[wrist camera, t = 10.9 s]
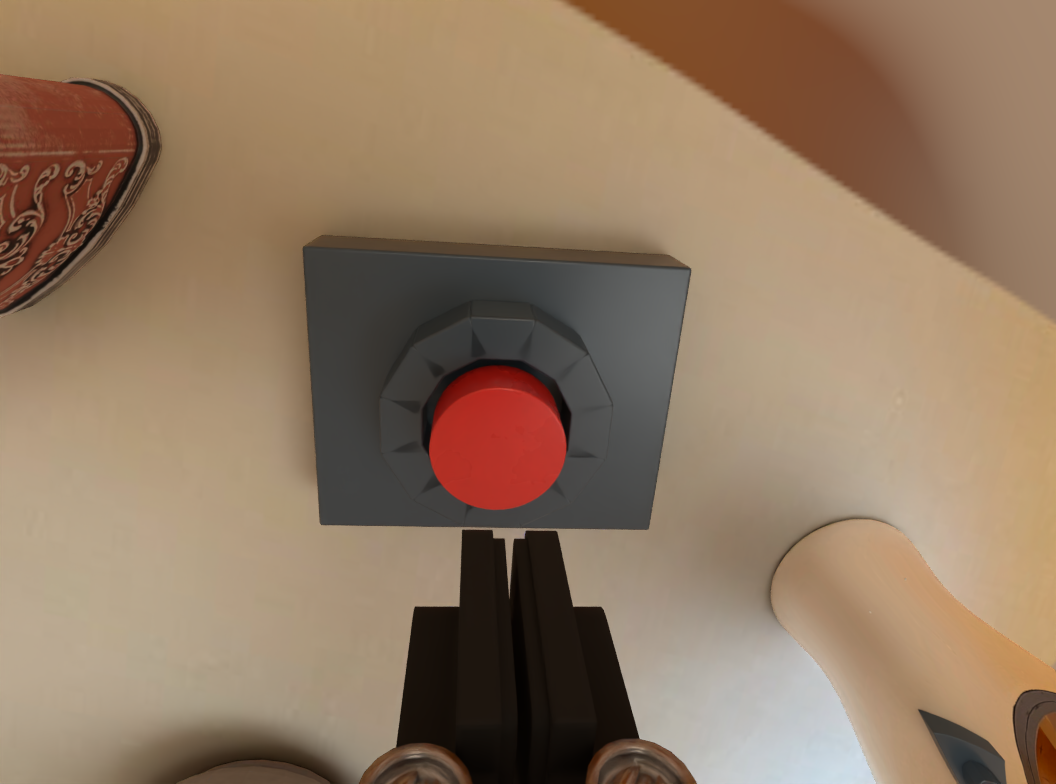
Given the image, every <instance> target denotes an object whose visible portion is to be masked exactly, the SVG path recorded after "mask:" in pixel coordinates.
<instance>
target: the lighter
mask: <svg viewBox="0 0 1056 784" xmlns="http://www.w3.org/2000/svg"><path fill="white" fill-rule="evenodd" d="M160 150H161V140H160V133H159V129H158V127H157V125H156V123H155V121H154V119H153V117H152V115H151V113H150V112H149V111H148V110H147V108H146V107H145V106H144V105H143V104H142V102H141V101H140V100H139V99H138V98H137V97H135V96H134V95H132V94H131V93H130V92H128V91H127V90H126V89H124V88H123V87H120V86H117V85H115V84H112V83H110V82H107V81H102V80H96V79H89V78H69V79H66V80H64V81H61V82H55V81H47V80H40V79H32V78H25V77H18V76H10V75H3V74H0V317H4V316H7V315H9V314H12V313H14V312H17V311H20V310H22V309H25V308H28V307H30V306H33V305H34V304H36V303H37V302H39V301H40V300H41V299H43V298H44V297H46V296H47V295H48V294H50V293H51V292H53V291H54V290H55V289H57V288H58V287H60V286H61V285H63V284H64V283H65V282H67V281H68V280H70V279H71V278H72V277H73V276H74V275H75V274H76V273H77V272H78V271H79V270H80V269H81V268H82V267H83V266H84V265H85V264H86V263H87V262H88V261H90V260H91V259H92V258H93V257H94V256H95V255H96V254H97V253H98V252H99V251H100V250H101V249H102V248H103V247H104V246H105V245H106V244H107V242H108V241H109V240H110V238H111V237H112V235H113V234H114V233H115V231H116V230H117V229H118V227H119V226H120V224H121V223H122V222H123V220H124V219H125V217H126V216H127V215H128V213H129V212H130V211H131V209H132V208H133V206H134V205H135V203H136V201H137V200H138V198H139V196H140V194H141V192H142V190H143V188H144V186H145V184H146V182H147V180H148V178H149V176H150V175H151V173H152V171H153V169H154V167H155V165H156V163H157V161H158V159H159V154H160Z"/></svg>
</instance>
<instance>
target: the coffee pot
mask: <svg viewBox="0 0 1056 784" xmlns="http://www.w3.org/2000/svg"><path fill="white" fill-rule="evenodd" d="M176 784H330V783H329V782H328V781H327V780H326V779H324V778H322V777H320V776H319V775H317V774H315V773H313V772H312V771H310V770H308V769H305V768H301V767H298V766H295V765H292V764H289V763H285V762H277V761H269V760H247V761H236V762H232V763H228V764H224V765H220V766H216V767H213V768H211V769H209V770H207V771H205V772H203V773H201V774H197V775H194V776H191V777H189V778H187V779H185V780H182V781H180V782H178V783H176Z"/></svg>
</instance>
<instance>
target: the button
mask: <svg viewBox="0 0 1056 784" xmlns="http://www.w3.org/2000/svg"><path fill="white" fill-rule="evenodd" d="M566 446H567V444H566V436H565V432H564V429H563V425H562V422H561V419H560V415H559V412H558V409H557V405H556V403H555V400H554V398H553V396H552V395H551V393H550V391H549V390H548V389H547V387H546V386H545V385H544V384H543V383H542V382H541V381H540V380H539V379H537V378H536V377H534V376H533V375H532V374H530V373H528V372H526V371H524V370H521V369H518V368H515V367H511V366H504V365H490V366H483V367H479V368H476V369H473V370H470V371H468V372H466V373H464V374H462V375H461V376H459V377H458V378H456V379H455V380H454V381H453V382H452V383H451V384H450V385H449V386H448V387H447V388H446V389H445V390H444V392H443V393H442V395H441V396H440V398H439V400H438V402H437V405H436V407H435V411H434V416H433V423H432V429H431V436H430V443H429V456H430V461H431V466H432V468H433V471H434V473H435V475H436V477H437V479H438V480H439V482H440V483H441V484H442V486H443V487H444V488H445V489H446V490H447V491H448V492H449V493H450V494H452V495H453V496H454V497H456V498H457V499H459V500H460V501H462V502H464V503H467V504H469V505H471V506H475V507H478V508H483V509H490V510H504V509H510V508H515V507H519V506H522V505H524V504H527V503H529V502H531V501H533V500H535V499H536V498H538V497H539V496H541V495H542V494H543V493H544V492H545V491H547V490H548V489H549V488H550V487H551V485H552V484H553V483H554V482H555V480H556V479H557V477H558V476H559V474H560V472H561V470H562V468H563V465H564V462H565V457H566Z"/></svg>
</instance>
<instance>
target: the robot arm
mask: <svg viewBox="0 0 1056 784" xmlns="http://www.w3.org/2000/svg"><path fill="white" fill-rule="evenodd" d="M359 784H697V783H696V781H695V779H694V778H693V776H692V775H691V773H690V772H689V770H688V769H687V767H686V766H685V764H684V763H683V762H682V761H681V760H679V759H678V758H677V757H676V756H675V755H674V754H673V753H672V752H671V751H669V750H667V749H665V748H663V747H661V746H660V745H658V744H656V743H653V742H649V741H645V740H642V739H639V735H638V731H637V728H636V724H635V720H634V717H633V713H632V710H631V706H630V702H629V699H628V695H627V691H626V688H625V684H624V680H623V677H622V673H621V670H620V666H619V662H618V659H617V655H616V651H615V648H614V644H613V640H612V637H611V633H610V630H609V626H608V622H607V619H606V615H605V613H604V610H603V609H602V607H573V604H572V599H571V595H570V590H569V585H568V580H567V576H566V571H565V566H564V561H563V557H562V552H561V547H560V542H559V538H558V534H557V532H556V531H526V533H525V539H514V543H513V556H512V570H511V584H510V598H509V590H508V577H507V564H506V551H505V539H497V538H493V531H492V530H462V551H461V580H460V607H415V608H414V613H413V620H412V628H411V636H410V643H409V651H408V659H407V667H406V675H405V683H404V690H403V698H402V706H401V714H400V722H399V729H398V737H397V745H396V748H393V749H392V750H390V751H388V752H387V753H385V754H383V755H382V756H380V757H379V758H377V759H376V760H375V761H374V762H373V764H372V765H371V766H370V767H369V768H368V769H367V770H366V771H365V772H364V774H363V776H362V778H361V780H360V782H359Z"/></svg>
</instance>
